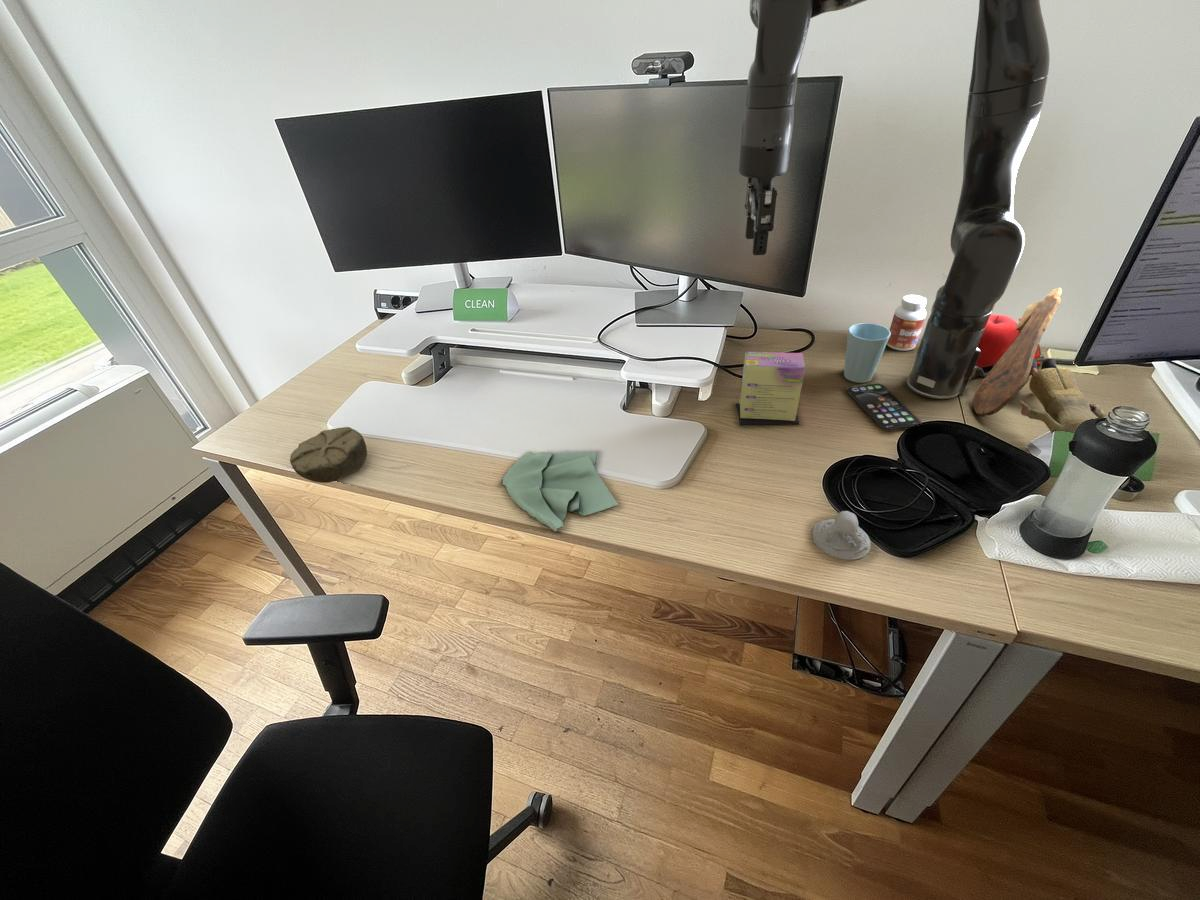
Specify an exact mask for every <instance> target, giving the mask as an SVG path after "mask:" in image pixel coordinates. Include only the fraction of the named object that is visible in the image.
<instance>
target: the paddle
mask: <svg viewBox="0 0 1200 900" xmlns="http://www.w3.org/2000/svg"><path fill="white" fill-rule="evenodd" d="M1062 293H1063V290H1062V288H1061V287H1057V288H1054V289H1052V290H1051V291H1050V292H1048V294H1047V295H1046V296H1045V297H1044V299H1043V300H1042V301H1037V302H1032V303H1030V304H1029V305H1028V306H1027V308H1026V309H1025V311H1024V312H1023V315H1022V316H1021V320H1020V322H1019V321H1018V323H1017V324H1018V325H1017V327H1016V330H1017V331H1021V332H1020V334H1019V335H1018V337H1017V338H1016V339H1015V341H1014V342H1013V344H1012V345H1011V346H1010V347H1009V348H1008V350H1007V351H1006V352H1005V353H1004V354H1003V356H1002V357H1001V358H1000V359H999V360H998V362H997V363H996V364H995V365H993V367H992V368H991V369H990V370H989V371H990V372H989V371H988V372H989V373H988V374H987V376H986V377H983V380H982V381H981V382H980V384H979V385H978V387H977V389H976V391H975V393H974V396H973V400H972V403H973V405H972V406H973V409H974V412H975V414H977V415H978V416H980V417H986V416H992V415H995V414H997V413H998V412H1000V411H1001V410H1002V409H1004V408H1005V407H1006V406H1007V405H1008V404H1009V403H1010V402H1011V401H1013V399H1014V398H1015V397H1017V395H1018V394H1019V393H1020V391H1021V390H1022V389H1023V388H1024V387H1023V385H1024V384H1025V382H1026V380H1027V378H1028V376H1029V373H1030V370H1031V366H1032V362H1033V359H1034V356H1035V352H1036V350H1037V347H1038V344H1039V345H1040V342H1041V340H1042V337H1043V335H1044V333H1045V332H1046V330H1047V328H1048V326H1049V325H1050V323H1051V320H1052V318H1053V316H1054V315H1055V313H1056V312H1057V310H1058V307H1059V306H1060V304H1061V301H1062V300H1061V296H1062ZM1029 377H1030V376H1029ZM1025 385H1026V384H1025ZM1025 385H1024V386H1025ZM1022 387H1023V388H1022ZM1021 388H1022V389H1021Z"/></svg>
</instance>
